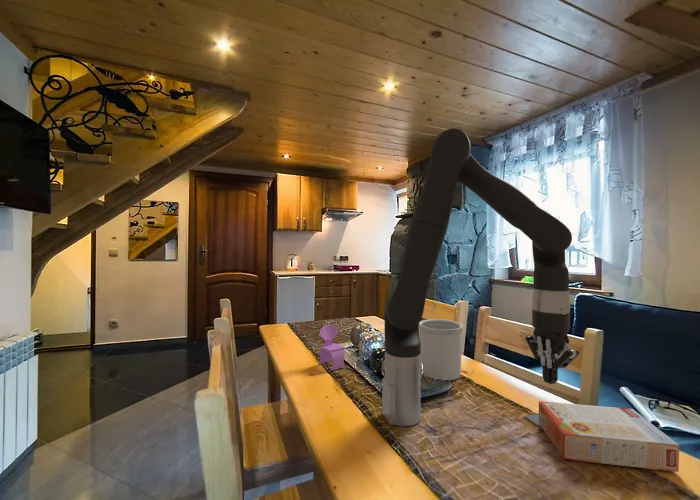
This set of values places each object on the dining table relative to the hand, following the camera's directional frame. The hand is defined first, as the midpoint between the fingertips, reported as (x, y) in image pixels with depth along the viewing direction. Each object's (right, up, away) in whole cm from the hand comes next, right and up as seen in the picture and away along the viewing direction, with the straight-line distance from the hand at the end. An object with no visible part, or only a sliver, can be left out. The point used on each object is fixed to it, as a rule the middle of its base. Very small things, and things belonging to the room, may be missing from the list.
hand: (550, 382), depth 75 cm
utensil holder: (-15, -13, +39) cm, 43 cm away
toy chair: (-54, -13, +45) cm, 71 cm away
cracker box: (-1, -10, -1) cm, 10 cm away
